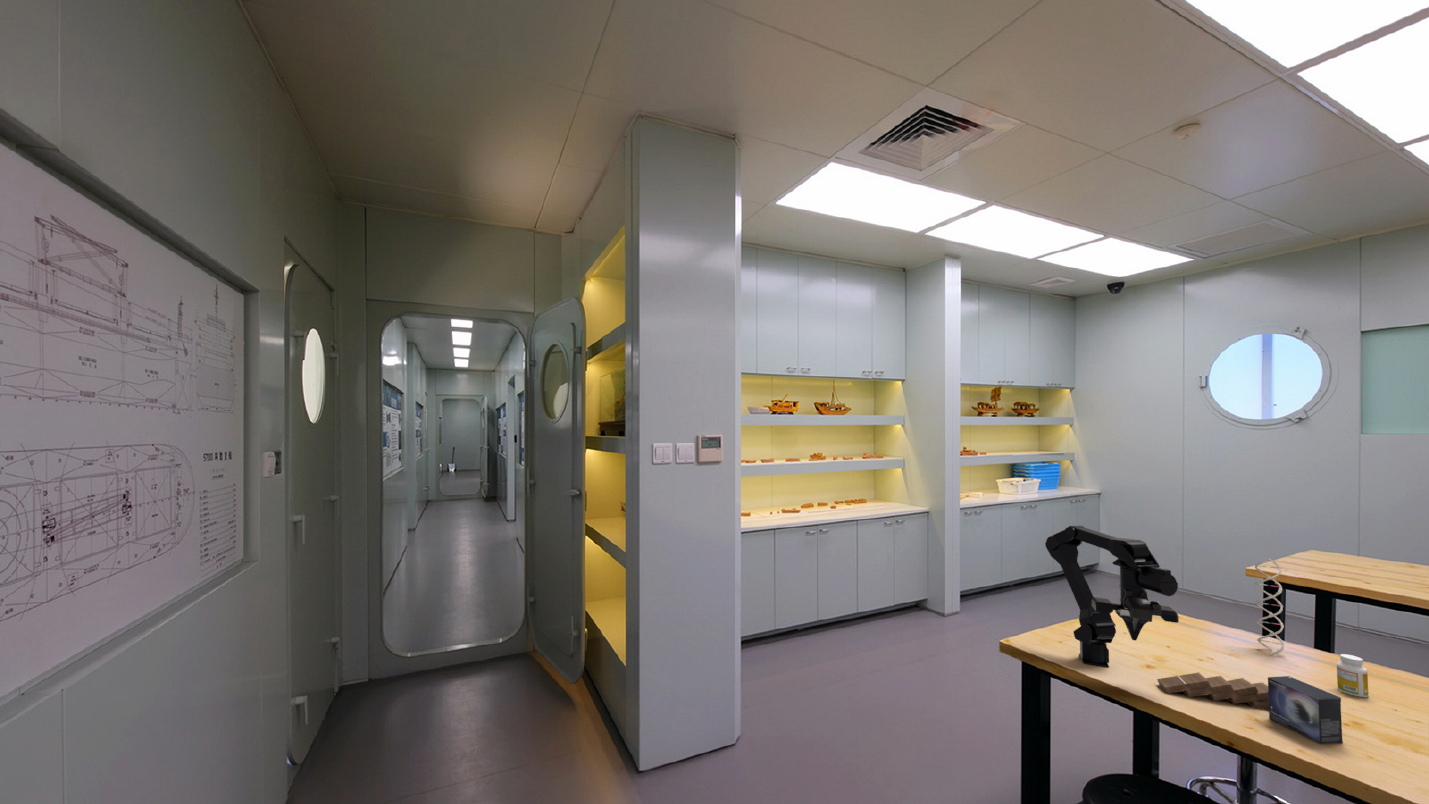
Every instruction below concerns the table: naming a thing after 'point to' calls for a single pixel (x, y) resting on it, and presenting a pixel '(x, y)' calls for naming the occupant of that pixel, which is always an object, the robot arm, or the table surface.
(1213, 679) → the domino
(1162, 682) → the domino
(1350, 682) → the supplement bottle
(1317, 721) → the small box
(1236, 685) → the domino
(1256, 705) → the domino
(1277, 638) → the dna model
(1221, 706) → the table surface
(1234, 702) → the domino
